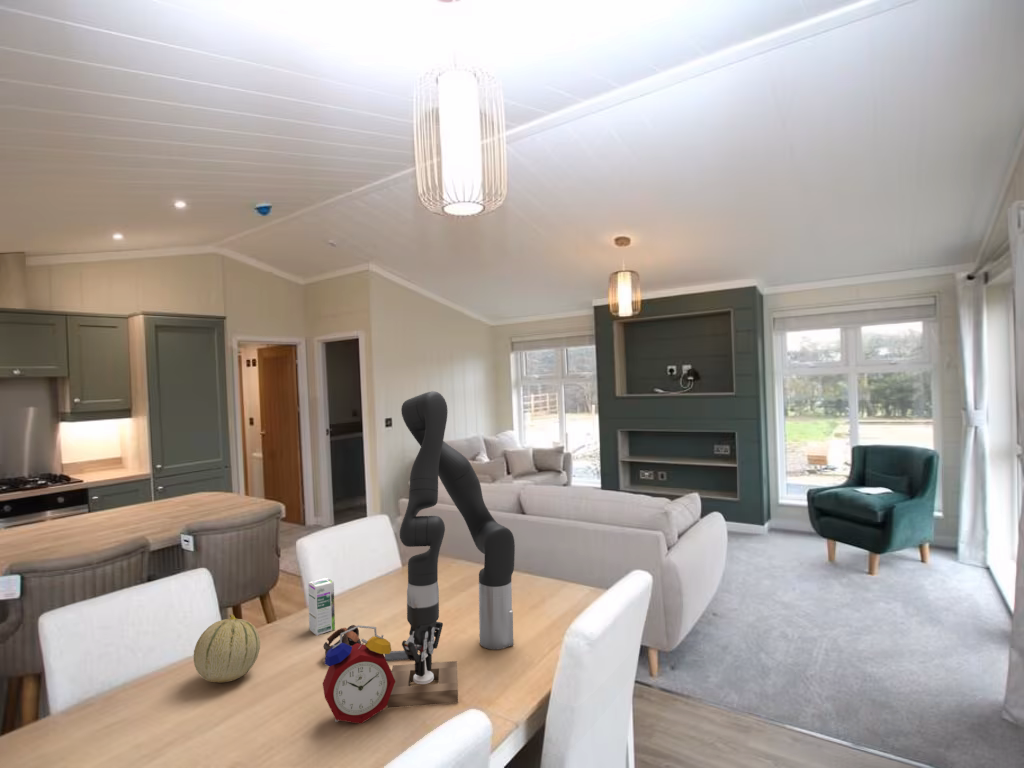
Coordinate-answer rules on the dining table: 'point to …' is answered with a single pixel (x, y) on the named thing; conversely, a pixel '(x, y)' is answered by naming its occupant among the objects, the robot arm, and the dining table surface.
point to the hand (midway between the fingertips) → (423, 672)
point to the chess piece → (426, 677)
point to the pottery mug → (343, 637)
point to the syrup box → (321, 606)
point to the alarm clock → (358, 678)
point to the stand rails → (396, 656)
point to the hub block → (424, 686)
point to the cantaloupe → (226, 650)
